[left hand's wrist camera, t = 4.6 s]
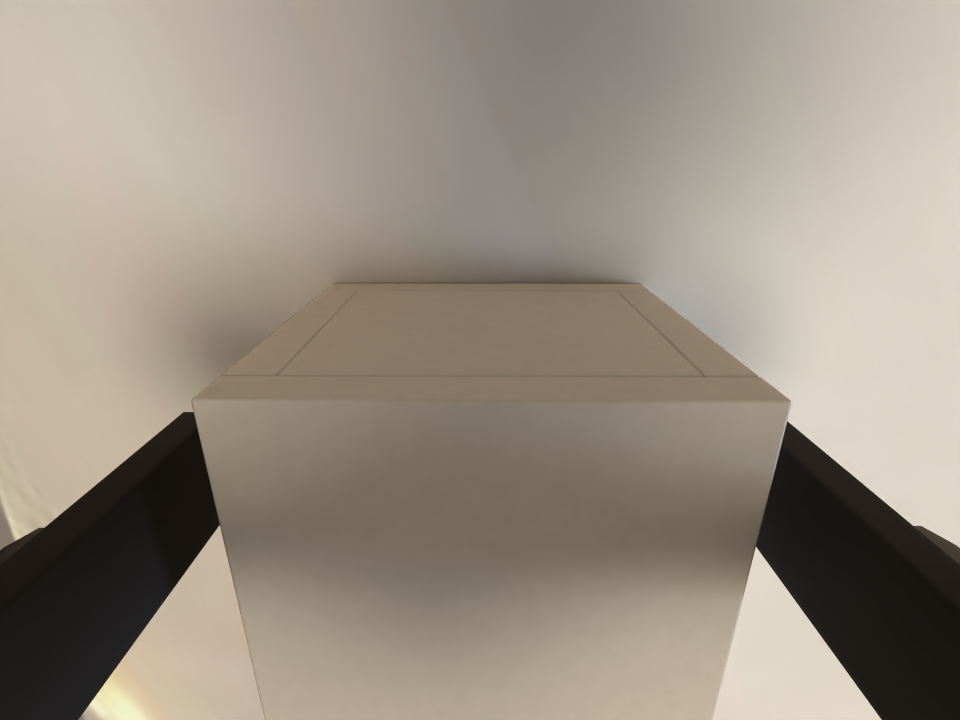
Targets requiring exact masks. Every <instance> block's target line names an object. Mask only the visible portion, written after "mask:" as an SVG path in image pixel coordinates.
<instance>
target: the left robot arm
mask: <svg viewBox="0 0 960 720" xmlns="http://www.w3.org/2000/svg"><path fill="white" fill-rule="evenodd" d="M219 525H220V523H219V518H218V514H217V510H216V505H215V501H214V497H213V492H212V488H211V484H210V480H209V475H208V471H207V467H206V462H205V458H204V454H203V449H202V445H201V441H200V436H199V432H198V428H197V423H196V419H195V415H194V412H183V413H182V414H181V415H180V416H179V417H177V418H176V419H175V420H174V421H173V422H171V423H170V424H169V425H168V426H167V427H165V428H164V429H163V430H162V431H161V432H159V433H158V434H157V435H156V436H154V437H153V438H152V439H151V440H150V441H148V442H147V443H146V444H145V445H144V446H142V447H141V448H140V449H139V450H138V451H136V452H135V453H134V454H133V455H132V456H130V457H129V458H128V459H127V460H126V461H124V462H123V463H122V464H121V465H120V466H118V467H117V468H116V469H115V470H114V471H112V472H111V473H110V474H109V475H108V476H106V477H105V478H104V479H103V480H102V481H100V482H99V483H98V484H97V485H96V486H94V487H93V488H92V489H91V490H90V491H88V492H87V493H86V494H85V495H84V496H82V497H81V498H80V499H79V500H77V501H76V502H75V503H74V504H73V505H71V506H70V507H69V508H68V509H67V510H65V511H64V512H63V513H62V514H61V515H59V516H58V517H57V518H56V519H55V520H53V521H52V522H51V523H50V524H49V525H47V526H46V527H45V528H38V529H37V530H35V531H33V532H31V533H29V534H27V535H26V536H24V537H22V538H20V539H18V540H17V541H15V542H13V543H11V544H9V545H8V546H6V547H4V548H3V549H2V550H0V720H78V719H79V718H80V716H81V715H82V714H83V712H84V711H85V710H86V708H87V707H88V706H89V704H90V703H91V701H92V700H93V699H94V697H95V696H96V694H97V693H98V692H99V690H100V689H101V688H102V686H103V685H104V683H105V682H106V681H107V679H108V678H109V677H110V675H111V674H112V672H113V671H114V670H115V668H116V667H117V666H118V664H119V663H120V661H121V660H122V659H123V657H124V656H125V655H126V653H127V652H128V650H129V649H130V648H131V646H132V645H133V643H134V642H135V641H136V639H137V638H138V637H139V635H140V634H141V632H142V631H143V630H144V628H145V627H146V626H147V624H148V623H149V621H150V620H151V619H152V617H153V616H154V615H155V613H156V612H157V610H158V609H159V608H160V606H161V605H162V604H163V602H164V601H165V599H166V598H167V597H168V595H169V594H170V592H171V591H172V590H173V588H174V587H175V586H176V584H177V583H178V581H179V580H180V579H181V577H182V576H183V575H184V573H185V572H186V570H187V569H188V568H189V566H190V565H191V564H192V562H193V561H194V559H195V558H196V557H197V555H198V554H199V553H200V551H201V550H202V548H203V547H204V546H205V544H206V543H207V541H208V540H209V539H210V537H211V536H212V535H213V533H214V532H215V530H216V529H217V528H218V526H219ZM756 547H757V548H758V550H759V551H760V553H761V554H762V555H763V557H764V558H765V559H766V561H767V562H768V564H769V565H770V566H771V568H772V569H773V570H774V572H775V573H776V575H777V576H778V577H779V579H780V580H781V581H782V583H783V584H784V586H785V587H786V588H787V590H788V591H789V592H790V594H791V595H792V597H793V598H794V599H795V601H796V602H797V604H798V605H799V606H800V608H801V609H802V610H803V612H804V613H805V615H806V616H807V617H808V619H809V620H810V621H811V623H812V624H813V626H814V627H815V628H816V630H817V631H818V632H819V634H820V635H821V637H822V638H823V639H824V641H825V642H826V643H827V645H828V646H829V648H830V649H831V650H832V652H833V653H834V655H835V656H836V657H837V659H838V660H839V661H840V663H841V664H842V666H843V667H844V668H845V670H846V671H847V672H848V674H849V675H850V677H851V678H852V679H853V681H854V682H855V683H856V685H857V686H858V688H859V689H860V690H861V692H862V693H863V694H864V696H865V697H866V699H867V700H868V701H869V703H870V704H871V706H872V707H873V708H874V710H875V711H876V712H877V714H878V715H879V717H880V718H881V719H882V720H960V548H959V547H958V546H956V545H955V544H953V543H951V542H949V541H947V540H946V539H944V538H942V537H940V536H938V535H937V534H935V533H933V532H931V531H929V530H927V529H926V528H924V527H922V526H913V525H911V524H910V523H909V522H908V521H907V520H905V519H904V518H903V517H902V516H901V515H899V514H898V513H897V512H896V511H895V510H893V509H892V508H891V507H890V506H889V505H887V504H886V503H885V502H884V501H882V500H881V499H880V498H879V497H878V496H876V495H875V494H874V493H873V492H872V491H870V490H869V489H868V488H867V487H866V486H864V485H863V484H862V483H861V482H860V481H858V480H857V479H856V478H855V477H854V476H852V475H851V474H850V473H849V472H848V471H846V470H845V469H844V468H843V467H842V466H840V465H839V464H838V463H837V462H836V461H834V460H833V459H832V458H831V457H830V456H828V455H827V454H826V453H825V452H824V451H822V450H821V449H820V448H819V447H818V446H816V445H815V444H814V443H813V442H812V441H810V440H809V439H808V438H807V437H806V436H804V435H803V434H802V433H801V432H799V431H798V430H797V429H796V428H795V427H793V426H792V425H791V424H790V423H789V422H787V424H786V428H785V432H784V436H783V440H782V444H781V448H780V452H779V456H778V460H777V464H776V468H775V472H774V476H773V480H772V484H771V488H770V492H769V496H768V500H767V504H766V508H765V512H764V516H763V519H762V523H761V527H760V531H759V535H758V539H757V543H756Z"/></svg>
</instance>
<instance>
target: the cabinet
mask: <svg viewBox="0 0 960 720" xmlns="http://www.w3.org/2000/svg"><path fill="white" fill-rule="evenodd" d="M192 406H193V411H194V415H195V419H196V423H197V428H198V432H199V436H200V441H201V445H202V449H203V454H204V458H205V462H206V467H207V471H208V475H209V480H210V484H211V488H212V492H213V497H214V501H215V505H216V510H217V514H218V518H219V523H220V527H221V531H222V536H223V540H224V544H225V549H226V553H227V557H228V562H229V566H230V570H231V574H232V579H233V583H234V587H235V592H236V596H237V600H238V605H239V609H240V613H241V618H242V622H243V626H244V631H245V635H246V639H247V643H248V648H249V652H250V656H251V661H252V665H253V669H254V674H255V678H256V682H257V687H258V691H259V695H260V700H261V704H262V708H263V713H264V717H265V720H712V719H713V715H714V711H715V707H716V703H717V699H718V695H719V691H720V687H721V683H722V679H723V675H724V671H725V667H726V663H727V659H728V655H729V651H730V647H731V643H732V639H733V635H734V631H735V627H736V623H737V619H738V615H739V611H740V607H741V603H742V599H743V595H744V591H745V587H746V583H747V579H748V575H749V571H750V567H751V563H752V559H753V555H754V551H755V547H756V543H757V539H758V535H759V531H760V527H761V523H762V519H763V516H764V512H765V508H766V504H767V500H768V496H769V492H770V488H771V484H772V480H773V476H774V472H775V468H776V464H777V460H778V456H779V452H780V448H781V444H782V440H783V436H784V432H785V428H786V424H787V420H788V416H789V412H790V408H791V400H790V399H788V398H787V397H786V396H784V395H783V394H782V393H781V392H779V391H778V390H777V389H775V388H774V387H773V386H772V385H770V384H769V383H768V382H766V381H765V380H764V379H763V378H760V377H759V376H758V375H757V374H756V373H754V372H753V371H752V370H750V369H749V368H748V367H747V366H745V365H744V364H743V363H741V362H740V361H739V360H738V359H736V358H735V357H734V356H732V355H731V354H730V353H729V352H727V351H726V350H725V349H723V348H722V347H721V346H720V345H718V344H717V343H716V342H714V341H713V340H712V339H711V338H709V337H708V336H707V335H705V334H704V333H703V332H702V331H700V330H699V329H698V328H696V327H695V326H694V325H693V324H691V323H690V322H689V321H688V320H686V319H685V318H684V317H682V316H681V315H680V314H679V313H677V312H676V311H675V310H673V309H672V308H671V307H670V306H668V305H667V304H666V303H664V302H663V301H662V300H661V299H659V298H658V297H657V296H655V295H654V294H653V293H652V292H650V291H649V290H648V289H646V288H645V287H644V286H643V285H641V284H448V283H334V284H333V285H331V286H330V287H329V288H328V289H326V290H325V291H323V292H322V293H321V294H320V295H319V296H317V297H316V298H315V299H314V300H312V301H311V302H310V303H309V304H308V305H306V306H305V307H304V308H303V309H301V310H300V311H299V312H298V313H297V314H295V315H294V316H293V317H292V318H290V319H289V320H288V321H287V322H286V323H284V324H283V325H282V326H281V327H279V328H278V329H277V330H276V331H275V332H273V333H272V334H271V335H270V336H268V337H267V338H266V339H265V340H264V341H262V342H261V343H260V344H259V345H257V346H256V347H255V348H254V349H253V350H251V351H250V352H249V353H248V354H246V355H245V356H244V357H243V358H242V359H240V360H239V361H238V362H237V363H235V364H234V365H233V366H232V367H231V368H229V369H228V370H227V371H226V372H224V373H223V374H222V375H221V377H219V378H217V379H216V380H215V381H214V382H213V383H211V384H210V385H209V386H208V387H206V388H205V389H204V390H203V391H202V392H200V393H199V394H198V395H197V396H195V397H194V398H193V399H192Z"/></svg>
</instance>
